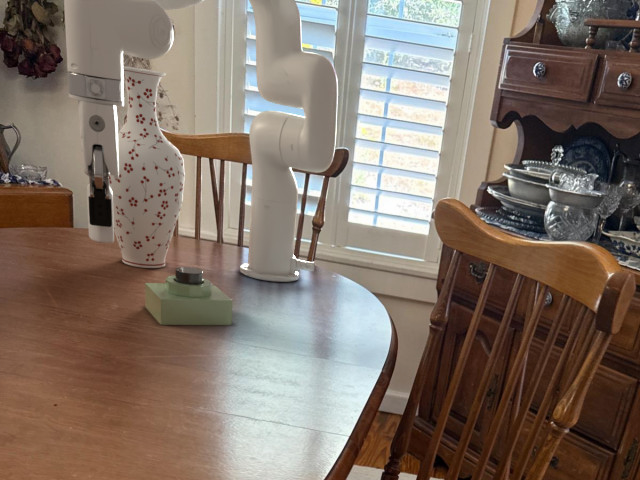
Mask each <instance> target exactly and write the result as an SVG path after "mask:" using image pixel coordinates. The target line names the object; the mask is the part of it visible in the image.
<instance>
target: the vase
mask: <svg viewBox="0 0 640 480" xmlns="http://www.w3.org/2000/svg"><path fill="white" fill-rule="evenodd" d="M165 76H167V73H166V72H163V71H158V70H153V69H147V68H141V67H135V66H129V65H123V80H124V83H125V88H126V94H127V112H126V116H125V120H124V123H123V125H122V127H121V129H120V130H118V147H119V151H118V152H119V178H117V179H114V176H113V175H110V173H109V186H110V188H111V190H112V193H113V216H114V236H115V238H116V240H117V244H118V247H119V250H120V253H121V258H122V259H121V262H122V263H124V264H125V265H128V266H131V267H136V268H144V269H158V268H163V267H165V266H166V257H167V253H168V250H169V247H170V244H171V241H172V238H173V235H174V232H175V228H176V225H177V222H178V219H179V216H180V212H181V210H182V205H183V201H184V191H185V181H186V180H185V179H186V170H185V160H184V157H183V155H182V153H181V152H180V150H179V148H177V147H176V146H175V145H174V144H173V143H172V142H170V140H168V139H167V137H166V136H165V135H164V134H163V132H162V129H161V127H160V124H159V120H158V116H157V97H158V91H159V85H160V82H161V79H162V78H163V77H165Z"/></svg>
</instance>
